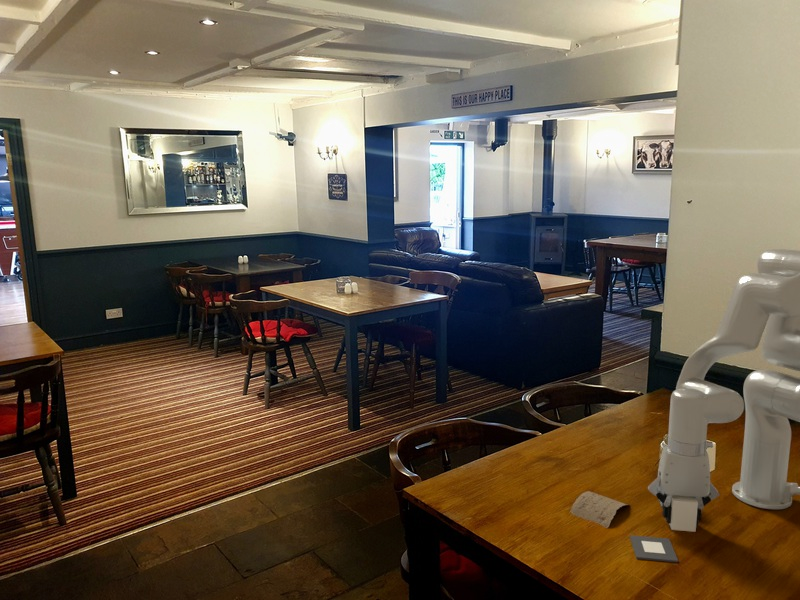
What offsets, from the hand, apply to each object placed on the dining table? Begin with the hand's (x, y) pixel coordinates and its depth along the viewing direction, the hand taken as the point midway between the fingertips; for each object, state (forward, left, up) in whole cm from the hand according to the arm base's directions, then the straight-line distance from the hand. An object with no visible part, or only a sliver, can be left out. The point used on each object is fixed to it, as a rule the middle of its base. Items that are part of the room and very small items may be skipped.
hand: (680, 520), depth 139 cm
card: (+8, +11, -1) cm, 14 cm away
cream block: (0, 0, -1) cm, 1 cm away
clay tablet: (+17, -4, -2) cm, 18 cm away
